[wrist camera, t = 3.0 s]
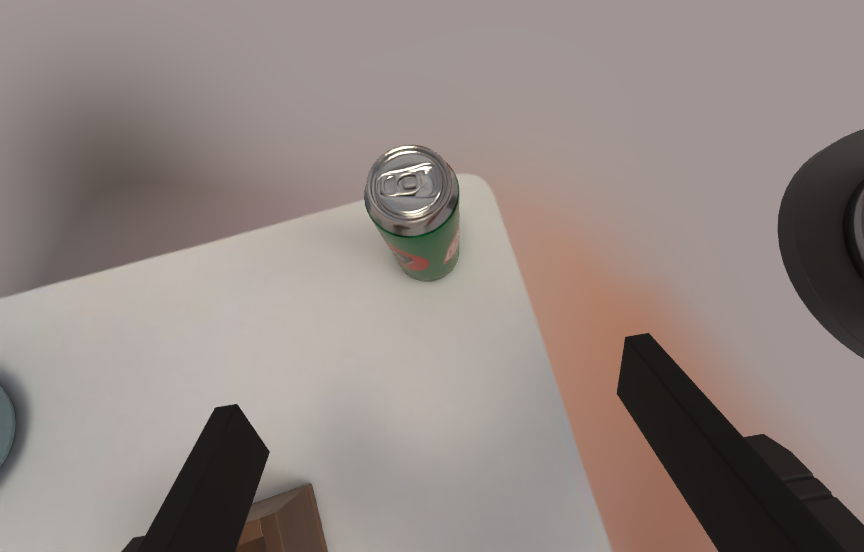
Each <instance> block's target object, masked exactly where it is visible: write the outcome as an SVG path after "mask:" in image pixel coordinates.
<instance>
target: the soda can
mask: <svg viewBox="0 0 864 552" xmlns="http://www.w3.org/2000/svg"><path fill="white" fill-rule="evenodd" d="M364 199H365V206H366V209H367V212H368V214H369V216H370V218H371V219H372V221H373V223H374V224H375V226H376V228H377V229H378V231H379V232H380V234H381V236H382V237H383V239H384V240H385V242H386V244H387V245H388V247H389V249H390V250H391V252H392V253H393V255H394V257H395V258H396V260H397V261H398V263H399V265H400V266H401V268H402V269H403V271H404V272H405V273H406V274H408V275H409V276H410V277H412V278H414V279H417V280H420V281H434V280H437V279H440V278H442V277H444V276H445V275H447V274H448V273H449V272H450V271H451V270H452V269H453V268H454V266H455V264H456V262H457V260H458V256H459V184H458V180H457V177H456V175H455V173H454V171H453V170H452V168H451V167H450V166H449V165H448V163H446V162H445V161H444V160H443V159H442V157H440V155H438V154H437V153H436V152H434V151H433V150H431V149H429V148H426V147H423V146H418V145H404V146H399V147H396V148H394V149H391V150H389V151H387V152H386V153H384V154H383V155H382V156H381V157H380V158H379V159H377V161H376V162H375V163H374V164H373V166H372V168H371V170H370V172H369V174H368V178H367V184H366V187H365V195H364Z"/></svg>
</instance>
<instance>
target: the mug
mask: <svg viewBox="0 0 864 552" xmlns="http://www.w3.org/2000/svg"><path fill="white" fill-rule="evenodd" d="M15 427H16V421H15V411H14V408H13V405H12V403H11V400H10V398H9V397H8V395H7V394H6V393H5V391H4V390H3V389H2V388H1V386H0V467H1V466H2V464H3V462H4V461H5V459H6V458H7V456H8V453H9V451H10V448H11V445H12V443H13V440H14V433H15Z"/></svg>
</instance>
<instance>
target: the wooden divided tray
mask: <svg viewBox="0 0 864 552" xmlns="http://www.w3.org/2000/svg"><path fill="white" fill-rule="evenodd" d="M235 552H328V551H327V547H326V543H325V539H324V534H323V530H322V526H321V522H320V517H319V513H318V509H317V505H316V501H315V496H314V492H313V488H312V484H311V483H310V484H307V485H304V486H302V487H299V488H296V489H293V490H291V491H288V492H285V493H282V494H280V495H277V496H274V497H271V498H269V499H266V500H263V501H261V502H258V503H255V504H252V505H251V508H250V511H249V514H248V517H247V519H246V522H245V525H244V528H243V531H242V534H241V537H240V540H239V543H238V546H237V549H236V551H235Z"/></svg>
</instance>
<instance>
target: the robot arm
mask: <svg viewBox="0 0 864 552" xmlns="http://www.w3.org/2000/svg"><path fill="white" fill-rule="evenodd" d="M843 231H844V239H845V244H846V248H847V251H848V254H849V256H850V259H851V261H852V263H853V265H854V267H855V269H856V270H857V272H858V274H859V275H860V277H861V278H862V280H863V281H864V181H862V182H861V183H860V184H859V185H858V187H857V188H856V189H855V190H854V192H853V193H852V195H851V197H850V199H849V201H848V203H847V206H846V209H845V214H844V221H843ZM617 395H618V396H619V398H620V399H621V401H622V402H623V404H624V405H625V407H626V409H627V410H628V412H629V413H630V415H631V416H632V418H633V419H634V421H635V422H636V424H637V425H638V427H639V428H640V430H641V432H642V433H643V435H644V436H645V438H646V439H647V441H648V443H649V444H650V446H651V447H652V449H653V450H654V452H655V454H656V455H657V457H658V458H659V460H660V461H661V463H662V464H663V466H664V468H665V469H666V471H667V472H668V474H669V475H670V477H671V478H672V480H673V482H674V483H675V484H676V486H677V488H678V489H679V490H680V492H681V494H682V495H683V497H684V499H685V500H686V502H687V503H688V505H689V506H690V508H691V509H692V511H693V513H694V514H695V515H696V517H697V519H698V520H699V522H700V523H701V525H702V526H703V528H704V530H705V531H706V533H707V534H708V536H709V537H710V539H711V540H712V542H713V543H714V545H715V547H716V548H717V550H718V551H719V552H864V525H863V524H862V523H861V522H860V521H859V520H858V519H857V518H856V517H855V516H854V515H853V514H852V513H851V512H850V511H849V510H848V509H847V508H846V507H845V506H844V505H843V504H842V503H841V502H840V501H839V500H838V499H837V498H835V497H833V496H832V494H831V492H830V491H829V490H828V489H827V488H826V487H825V486H824V485H823V484H822V483H821V482H820V481H819V480H818V479H817V478H814V476H813V474H812V472H811V471H809V469H807V467H806V466H805V465H804V464H803V463H802V462H800V460H799V459H798V458H797V457H795V455H794V454H793V453H792V452H791V451H789V450H788V449H786V448H784V447H783V446H781V445H780V444H778V443H777V442H775V441H774V440H772V439H771V438H769V437H768V436H766V435H764V434H760V435H754V436H748V437H743V436H742V435H741V434H740V433H739V432H738V431H737V430H736V429H735V428H734V427H733V425H732V424H731V423H730V422H729V421H728V420H727V419H726V418H725V417H724V415H723V414H722V413H721V412H720V411H719V410H718V409H717V408H716V407H715V406H714V404H712V402H711V401H710V400H709V399H708V398H707V397H706V396H705V395H704V393H703V392H701V390H700V389H699V388H698V387H697V386H696V385H695V383H693V381H692V380H691V379H690V378H689V377H688V376H687V375H686V374H685V372H684V371H683V370H682V369H681V368H680V367H679V366H678V365H677V364H676V363H675V361H674V360H673V359H672V358H671V357H670V356H669V355H668V354H667V353H666V352H665V350H664V349H663V348H662V347H661V346H660V345H659V344H658V343H657V342H656V340H655V339H654V338H653V337H652V336H651V335H650V334H649V333H646V334H640V335H634V336H628V337H625V342H624V349H623V355H622V362H621V369H620V375H619V382H618V388H617ZM269 452H270V451H269V450H268V449H267V447H266V446H265V444H264V443H263V441H262V440H261V438H260V437H259V435H258V434H257V432H256V431H255V429H254V428H253V427H252V425H251V424H250V422H249V421H248V419H247V418H246V416H245V415H244V413H243V412H242V410H241V409H240V408H239V406H238V405H237V404H234V405H228V406H222V407H216V408H215V409H214V411H213V413H212V414H211V416H210V418H209V420H208V422H207V424H206V425H205V427H204V429H203V431H202V433H201V435H200V436H199V438H198V440H197V442H196V444H195V446H194V447H193V449H192V451H191V453H190V455H189V457H188V458H187V460H186V462H185V464H184V466H183V468H182V469H181V471H180V473H179V475H178V477H177V479H176V480H175V482H174V484H173V486H172V488H171V490H170V491H169V493H168V495H167V497H166V499H165V501H164V502H163V504H162V506H161V508H160V510H159V512H158V513H157V515H156V517H155V519H154V521H153V523H152V524H151V526H150V528H149V530H148V532H147V534H146V535H145V536H141V537H135V538H133V539H132V540H131V541H130V542H129V544H128V545H127V546H126V547H125V548H124V549H123V551H122V552H235V551H236V549H237V546H238V543H239V540H240V537H241V534H242V531H243V528H244V525H245V522H246V519H247V517H248V514H249V511H250V508H251V505H252V502H253V499H254V496H255V493H256V490H257V487H258V484H259V482H260V479H261V476H262V473H263V470H264V467H265V464H266V461H267V458H268V455H269Z"/></svg>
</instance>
